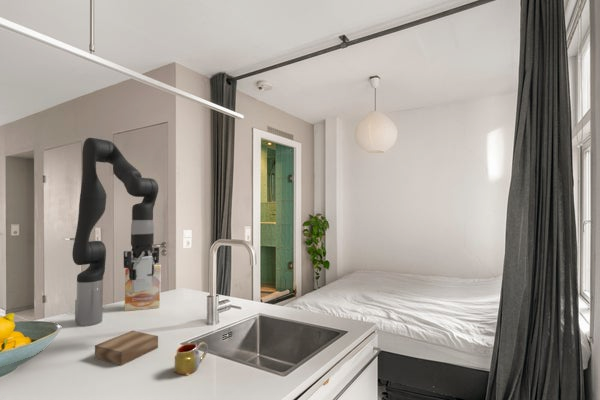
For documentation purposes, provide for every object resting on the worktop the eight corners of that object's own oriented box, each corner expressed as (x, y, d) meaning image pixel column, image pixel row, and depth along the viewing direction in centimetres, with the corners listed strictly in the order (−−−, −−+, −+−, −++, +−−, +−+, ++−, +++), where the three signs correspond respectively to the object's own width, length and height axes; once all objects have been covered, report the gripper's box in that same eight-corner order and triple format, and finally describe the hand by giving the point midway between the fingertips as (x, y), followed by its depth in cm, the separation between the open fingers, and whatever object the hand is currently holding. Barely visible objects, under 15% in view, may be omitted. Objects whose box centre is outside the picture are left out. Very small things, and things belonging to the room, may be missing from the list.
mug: (185, 378, 95) (185, 354, 95) (169, 371, 99) (169, 349, 99) (216, 361, 106) (216, 340, 106) (200, 356, 109) (200, 335, 109)
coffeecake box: (124, 311, 154) (125, 268, 155) (126, 307, 161) (126, 265, 161) (159, 308, 160) (160, 266, 160) (160, 304, 166) (160, 264, 167)
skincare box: (133, 292, 120) (133, 257, 120) (131, 289, 124) (132, 256, 124) (152, 289, 123) (152, 256, 124) (149, 287, 127) (150, 254, 127)
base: (94, 358, 107) (94, 345, 107) (132, 341, 120) (132, 330, 120) (121, 365, 102) (121, 352, 102) (157, 347, 115) (158, 335, 115)
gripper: (150, 230, 132) (149, 273, 132) (117, 233, 119) (117, 280, 119) (165, 231, 129) (164, 275, 129) (133, 234, 116) (132, 282, 116)
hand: (141, 277), depth 124 cm, fingers closed on skincare box, 7 cm apart
